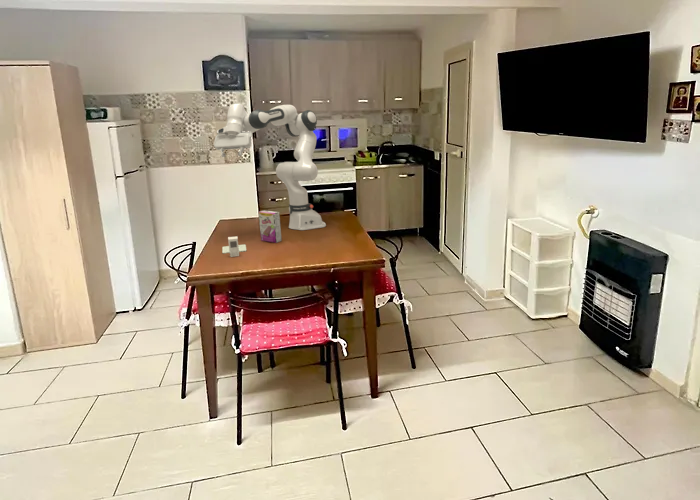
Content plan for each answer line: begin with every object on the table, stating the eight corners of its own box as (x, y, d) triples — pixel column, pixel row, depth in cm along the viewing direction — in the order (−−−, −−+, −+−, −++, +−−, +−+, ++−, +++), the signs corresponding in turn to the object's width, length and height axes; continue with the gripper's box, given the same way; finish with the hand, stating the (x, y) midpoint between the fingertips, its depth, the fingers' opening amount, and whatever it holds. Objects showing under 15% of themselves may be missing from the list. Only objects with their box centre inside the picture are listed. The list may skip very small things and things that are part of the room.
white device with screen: (239, 253, 246) (237, 236, 243) (239, 256, 242) (237, 238, 239) (230, 254, 245) (228, 237, 242) (230, 257, 241) (228, 239, 238)
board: (245, 245, 260) (245, 244, 260) (246, 251, 249) (246, 250, 249) (222, 247, 258) (222, 246, 258) (222, 253, 247) (222, 252, 246)
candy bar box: (260, 241, 267) (257, 211, 262) (266, 238, 271) (263, 210, 266) (276, 243, 262) (273, 213, 257) (282, 241, 266) (279, 211, 261)
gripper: (254, 133, 260) (252, 157, 257) (219, 136, 265) (216, 159, 261) (249, 127, 254) (247, 152, 251) (213, 130, 259) (211, 154, 256)
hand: (231, 155), depth 256 cm, fingers open, 8 cm apart
